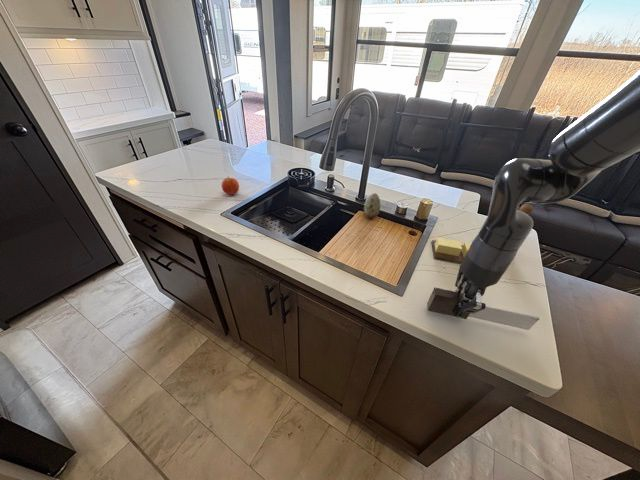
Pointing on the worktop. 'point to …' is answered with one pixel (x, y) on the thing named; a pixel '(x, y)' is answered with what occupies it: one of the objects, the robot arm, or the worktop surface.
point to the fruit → (230, 186)
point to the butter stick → (448, 246)
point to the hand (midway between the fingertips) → (456, 310)
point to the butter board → (447, 255)
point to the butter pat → (465, 248)
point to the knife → (448, 301)
